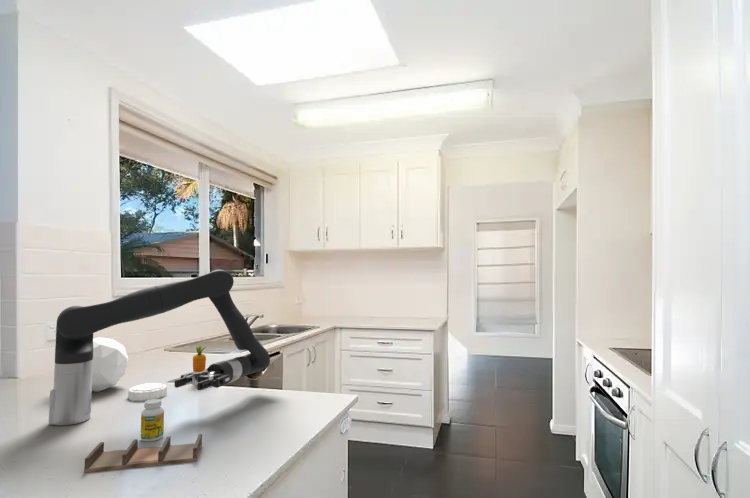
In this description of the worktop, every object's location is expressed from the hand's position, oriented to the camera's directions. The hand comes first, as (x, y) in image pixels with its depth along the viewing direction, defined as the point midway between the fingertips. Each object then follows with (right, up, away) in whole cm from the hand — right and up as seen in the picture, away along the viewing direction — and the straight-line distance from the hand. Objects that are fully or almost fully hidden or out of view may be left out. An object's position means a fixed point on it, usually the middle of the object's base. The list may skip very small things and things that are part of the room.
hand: (186, 385), depth 122 cm
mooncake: (-26, -13, +26) cm, 39 cm away
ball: (-48, -13, +34) cm, 60 cm away
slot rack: (+1, -10, -23) cm, 25 cm away
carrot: (-15, -13, +43) cm, 47 cm away
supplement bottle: (-4, -10, -11) cm, 16 cm away
